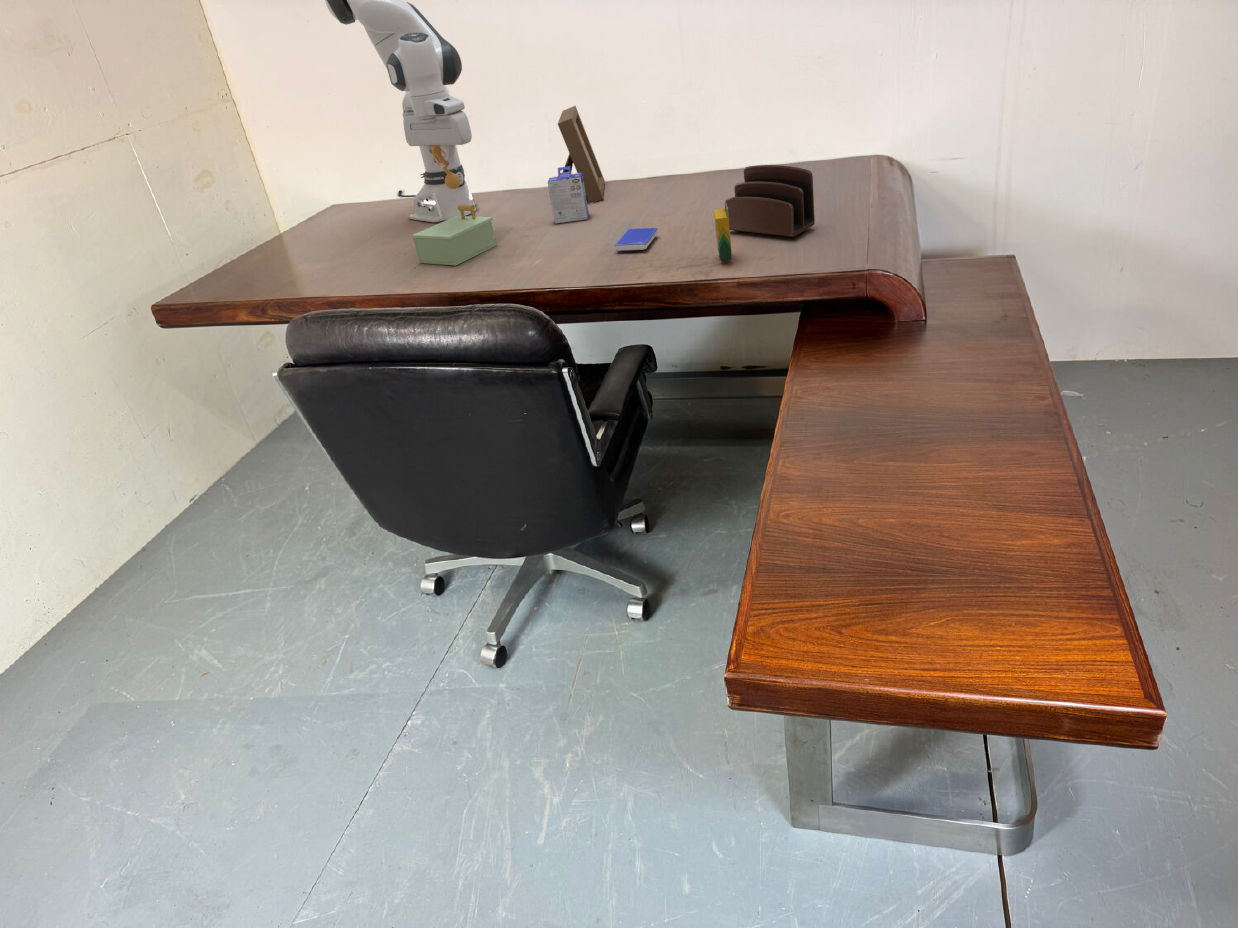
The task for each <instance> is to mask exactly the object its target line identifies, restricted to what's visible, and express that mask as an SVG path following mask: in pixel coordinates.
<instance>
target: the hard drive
mask: <svg viewBox="0 0 1238 928" xmlns="http://www.w3.org/2000/svg"><path fill="white" fill-rule="evenodd" d="M658 234H659V228H658V227H645V228H641V227H640V228H629V229H627V230H626V231H625V233H623V235H622V236H621V237H620V239H618V241H617V242H616V243H615V244H614V250H615V251H639V250H641V251H642V250H647V248H648V247H649V245H650V244H651V243H652V241H653V240H654V239H655V238H656V236H657V235H658Z"/></svg>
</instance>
